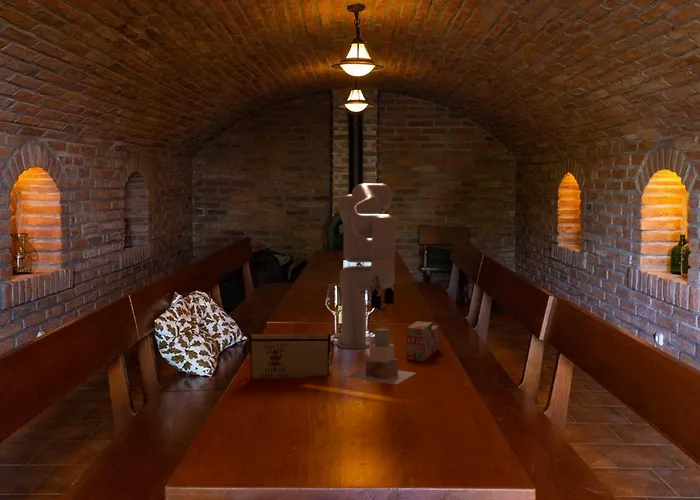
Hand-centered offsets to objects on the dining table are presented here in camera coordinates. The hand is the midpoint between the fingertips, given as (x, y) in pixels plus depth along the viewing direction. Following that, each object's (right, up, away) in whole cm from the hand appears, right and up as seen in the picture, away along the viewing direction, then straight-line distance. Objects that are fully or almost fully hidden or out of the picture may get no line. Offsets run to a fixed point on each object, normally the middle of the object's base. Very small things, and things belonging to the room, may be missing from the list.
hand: (382, 305), depth 242 cm
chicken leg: (0, -22, +25) cm, 33 cm away
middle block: (0, -18, +1) cm, 18 cm away
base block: (0, -23, +2) cm, 23 cm away
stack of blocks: (+17, -21, +36) cm, 45 cm away
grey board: (0, -24, +2) cm, 24 cm away
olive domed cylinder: (0, -13, +1) cm, 13 cm away
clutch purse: (-31, -24, +3) cm, 39 cm away
